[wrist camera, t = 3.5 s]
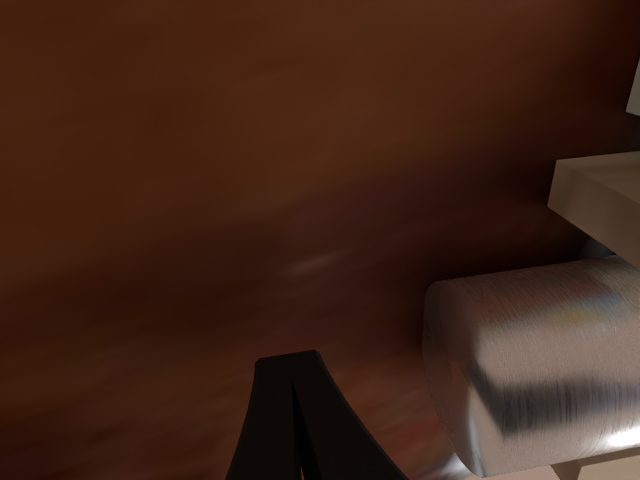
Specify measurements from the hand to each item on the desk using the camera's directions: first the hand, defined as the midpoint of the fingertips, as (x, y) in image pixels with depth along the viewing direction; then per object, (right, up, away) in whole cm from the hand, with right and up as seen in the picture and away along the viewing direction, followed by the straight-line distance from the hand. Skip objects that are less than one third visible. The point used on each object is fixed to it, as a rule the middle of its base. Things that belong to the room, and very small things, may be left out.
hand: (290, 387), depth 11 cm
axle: (+10, +2, +3) cm, 11 cm away
